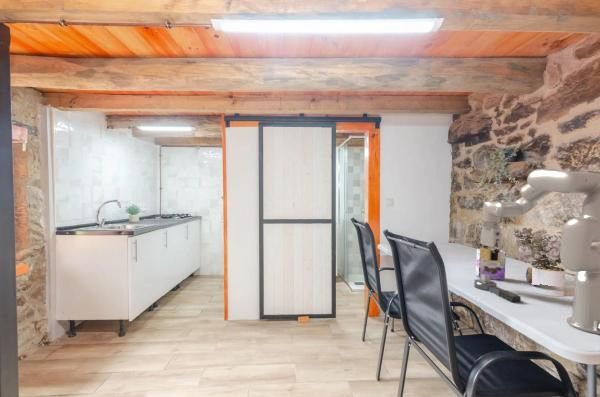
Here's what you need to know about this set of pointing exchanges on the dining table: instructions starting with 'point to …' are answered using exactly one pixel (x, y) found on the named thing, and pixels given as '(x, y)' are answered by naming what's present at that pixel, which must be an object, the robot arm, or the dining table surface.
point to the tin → (529, 275)
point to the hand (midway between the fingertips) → (489, 258)
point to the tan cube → (487, 254)
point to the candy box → (491, 267)
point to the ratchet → (495, 288)
